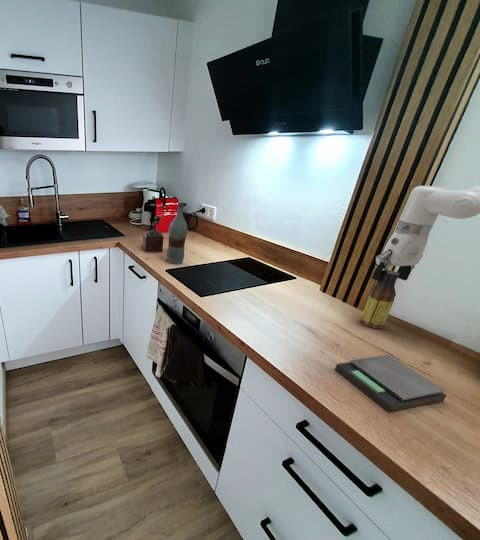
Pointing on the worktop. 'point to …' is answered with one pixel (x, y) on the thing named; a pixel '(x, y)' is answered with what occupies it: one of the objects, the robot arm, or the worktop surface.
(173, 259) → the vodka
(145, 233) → the pepper mill
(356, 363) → the scale pan
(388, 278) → the sauce bottle
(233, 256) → the worktop surface
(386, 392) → the scale
